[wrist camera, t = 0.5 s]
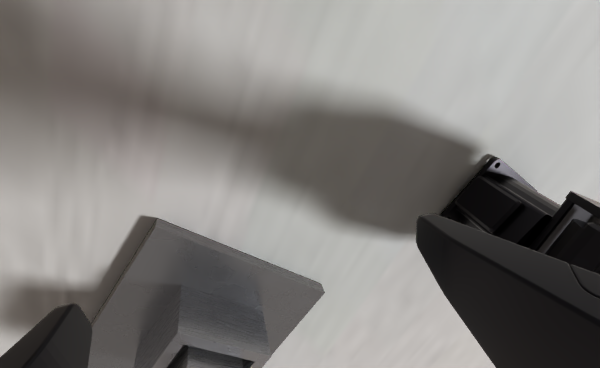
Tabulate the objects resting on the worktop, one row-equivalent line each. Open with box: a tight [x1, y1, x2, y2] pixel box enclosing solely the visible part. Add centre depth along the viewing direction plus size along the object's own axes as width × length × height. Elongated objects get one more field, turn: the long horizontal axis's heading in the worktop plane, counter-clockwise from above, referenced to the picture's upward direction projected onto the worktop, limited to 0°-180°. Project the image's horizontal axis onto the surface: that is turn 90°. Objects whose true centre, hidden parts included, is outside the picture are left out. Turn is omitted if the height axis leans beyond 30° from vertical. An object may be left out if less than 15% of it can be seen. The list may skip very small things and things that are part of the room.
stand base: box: [88, 218, 325, 368], centre depth 25 cm, size 14×14×6 cm
